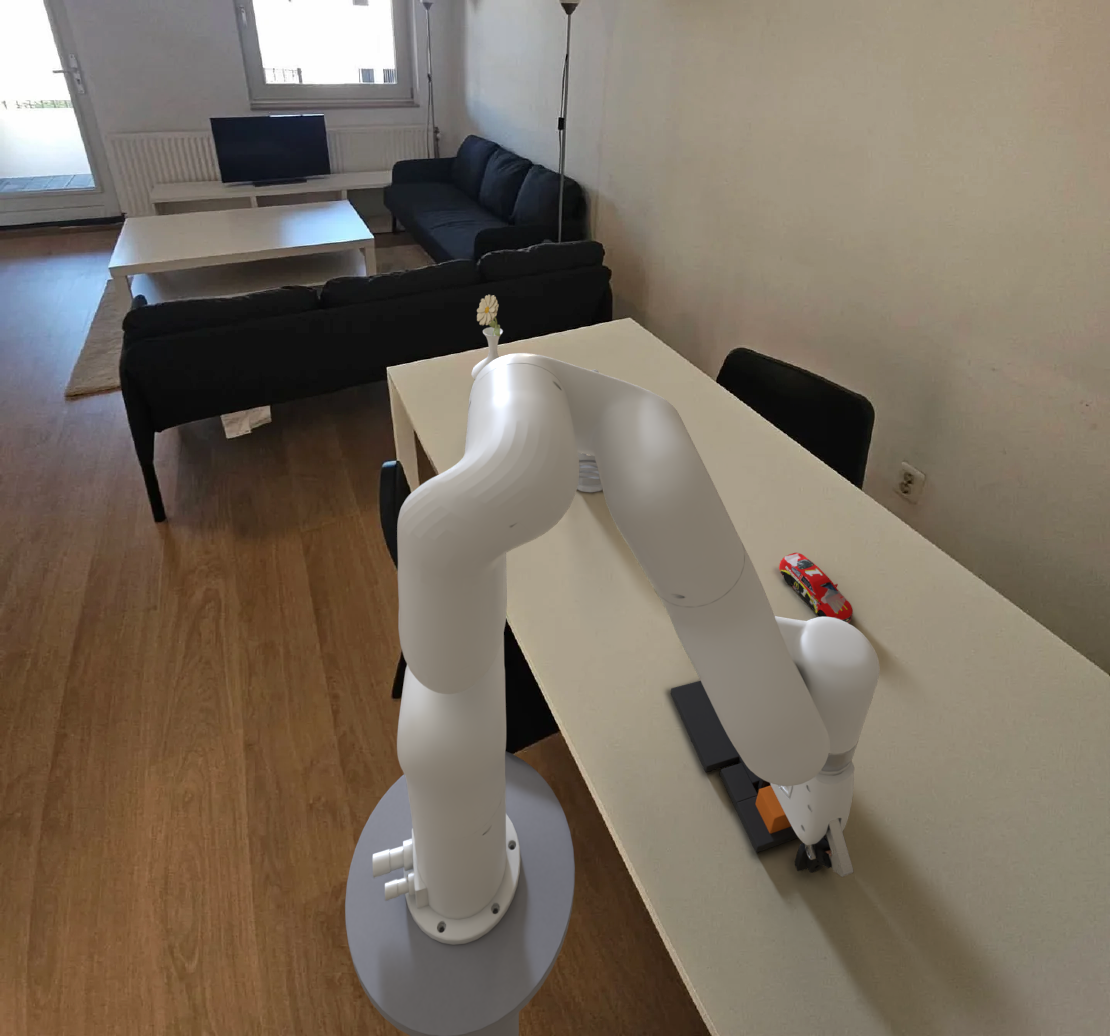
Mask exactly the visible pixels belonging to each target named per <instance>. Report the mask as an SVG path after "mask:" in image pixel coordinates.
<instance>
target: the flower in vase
mask: <svg viewBox="0 0 1110 1036" xmlns="http://www.w3.org/2000/svg"><path fill="white" fill-rule="evenodd" d="M498 310H499V303H498V299H497V297H496V296H495V294H494V295H491V294H488V295H485V296H484V298H481V299H480V302H479V307H478V308H477V309H476V312H477V315H476V321H477V322H479V325H480V326H484V325H485V326H489V327H486V328H484V329H483V330H482V334H483V335H484V336H485V337H486V340H487V344H488V355H487V357H485V358H484V359H482V360H481V361H479V362H478V363H476V364H475V365H474V366H473V368H472V370H471V377H472V378H473V380H475V379H476V377H477V376H478V374H479V373H480V372H481V370H482V369H483V368H484V367H485V366H486V365H488V364H489V363H490V362H492V361H493V360H495V359H497V358H499V357H500V356H499V351H498V345H499V339H500V337H501V335H502V334H503V332H504V330H503V329H502V328H501V325H500V324H498V319H497V314H498Z"/></svg>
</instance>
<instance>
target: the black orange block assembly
mask: <svg viewBox="0 0 1110 1036" xmlns="http://www.w3.org/2000/svg"><path fill="white" fill-rule="evenodd" d="M719 777H720V779H721V781H722V784H723V785H724V787H725V789H726V792H727V794H728V796H729V798H730V801H731V802H732V805H733V806H734V808H735V811H736V813H737V815H738V817H739V819H740V821H741V823H742V826H743V828H744V830H745V832H746V835H747V837H748V838H749V841H750V843H751V846H752V847H753V849H754V851H755V853H756V854H757V853H760V852H763V851H765V850H768V849H771V848H773V847H777V846H779V845H782V844H784V843H787V842H791V841H793V840H796V839H799V837H798V836H797V835H796V833H795V831H794V830H793V828H792V826H791V824H790V822H789V820H788V818H787V816H786V814H785V812H784V810H783V808H782V806H781V804H780V802H779V800H778V798H777V796H776V794H775V792H774V790H773V788H772V786H768V787H765V788H762V789H759V790H758V792H757V790H756V787H755V788H754V786H753V784H752V782H751V780H750V778H749V776H748V774H747V772H746V770H745V768H744V767H743V765H742V763H740V764H738V763H736V764H733V765H730V766H726V767H724V768H720V773H719Z"/></svg>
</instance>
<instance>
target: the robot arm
mask: <svg viewBox="0 0 1110 1036" xmlns="http://www.w3.org/2000/svg"><path fill="white" fill-rule="evenodd" d="M592 370H593V369H588V368H585V367H581V366H579V365H576V364H572V363H569V362H567V361H562V360H559V359H557V358H553V357H550V356H546V355H542V354H538V353H537V354H536V353H530V352H517V353H515V352H513V353H509V354H505V355H502V356H499V358H497V359H495V360H493V361H492V362H490V363H489V364H488V365H486V366H485V367H484V368H483V369H482V370H481V372H480V373H479V374H478V376H477V377H476V379H474V381H473V383H472V386H471V390H470V394H469V398H468V409H467V422H466V436H465V444H464V455H463V457H462V458H461V459H460V460H459V461H458V462H457V463H456V464H454V465H453V466H451V467H450V468H448V469H446V470H445V471H443V472H441V473H439V474H438V475H435V476H433V477H431V478H429V479H428V480H426V481H424V482H423V483H421V484H420V485H419V486H418V487H417V488H416V489H414V490H413V491H412V492H411V493H410V494H408V496H407V497H406V498H405V500H404V502H403V503H402V505H401V507H400V510H399V512H398V516H397V517H398V518H397V525H396V526H397V528H396V529H397V530H396V532H397V535H396V536H397V537H396V540H397V542H396V543H397V592H398V593H397V594H398V623H397V624H398V628H397V629H398V636H399V644H400V645H399V646H400V648H401V652H402V655H403V658H404V660H405V663H406V667H405V671H404V678H403V686H402V693H401V701H400V707H399V714H398V715H399V716H398V724H397V734H396V735H397V736H396V753H397V760H398V763H399V766H400V769H401V771H402V772H403V775H404V774H405V777H406V781H407V788H408V795H409V803H410V808H411V817H412V825H413V828H412V839H409V840H406V841H403V846H401V847H397V848H394V849H391V850H390V849H388V850H385V851H381V852H378V853H375V854H373V877H374V878H375V877H378V876H381V875H385V874H388V873H391V871H394V870H397V869H400V868H403V867H404V878H401V879H398V880H397V879H395V880H392V881H389V882H386V883H385V900H386V901H387V900H390V899H393V898H396V897H398V896H399V895H402V894H405V897H406V901H407V905H408V908H409V910H410V913H411V915H412V917H413V919H414V921H415V922H416V923H417V925H418V926H419V927H420V929H421V930H422V931H423V932H424V933H426V934H427V935H428V936H429V937H430V938H432V939H434V940H437V941H439V942H441V943H446V944H452V945H456V944H466V943H468V942H471V941H474V940H477V939H479V938H480V937H482V936H483V935H485V934H486V933H488V932H489V931H490V930H491V929H492V928H493V927H494V926H495V925H497V924H498V923H499V921H500V920H501V918H502V917H503V916H504V914H505V913H506V912H507V910H508V908H509V906H510V904H511V902H512V900H513V898H514V895H515V892H516V888H517V885H518V880H519V874H520V846H519V842H518V837H517V833H516V831H515V828H514V826H513V824H512V822H511V820H510V819H509V817H508V816H507V814H506V779H505V751H506V749H507V707H506V706H507V703H506V667H505V635H504V632H505V629H506V628H505V627H506V622H507V611H508V610H507V607H508V573H507V572H508V571H507V570H508V568H507V566H508V565H507V553H509V552H510V551H513V550H514V549H517V548H518V547H521V546H523V545H526V544H527V543H530V542H532V541H534V540H537V539H538V538H540V537H542V536H544V535H545V534H546V533H548V532H549V531H550V530H552V529H553V528H554V527H555V526H556V525H557V524H558V523H559V522H560V521H561V520H562V519H563V517H564V516H565V514H566V513H567V512H568V510H569V509H570V507H571V505H572V503H573V501H574V500H575V497H576V493H577V486H578V479H579V456H578V453H583V454H587V455H592V456H595V459H596V463H597V467H598V471H599V476H600V480H601V484H602V489H603V490H602V492H603V496H604V500H605V503H606V506H607V509H608V511H609V514H610V517H611V519H612V521H613V522H614V524H615V526H616V528H617V530H618V532H619V534H620V535H621V537H622V538H623V540H624V542H625V543H626V545H627V547H628V548H629V550H630V551H631V553H632V555H633V557H634V558H635V560H636V562H637V563H638V565H639V566H640V568H641V570H642V571H643V573H644V575H645V577H646V578H647V580H648V582H649V583H650V585H651V587H652V588H653V590H654V592H655V593H656V595H657V597H658V598H659V600H660V602H661V604H662V606H663V607H664V609H665V611H666V613H667V615H668V617H669V619H670V622H671V624H672V627H673V628H674V631H675V633H676V635H677V637H678V639H679V642H680V644H681V646H682V648H683V650H684V651H685V653H686V655H687V657H688V660H689V661H690V663H691V665H692V667H693V669H694V670H695V673H696V674H697V676H698V678H699V681H701V682H702V684H703V687H704V689H705V691H706V693H707V695H708V697H709V699H710V701H711V703H712V705H713V707H714V710H715V712H716V714H717V716H718V718H719V720H720V722H721V724H722V726H723V728H724V730H725V731H726V733H727V735H728V737H729V739H730V741H731V742H732V744H733V745H734V747H735V748H736V750H737V752H738V753H739V755H740V756H741V758H742V760H743V761H744V763H745V764H746V766H747V767H748V768H749V769H750V770H751V771H752V772H753V773H754V774H755V775H757V776H758V777H760V781H759V786H758V787H757V790H758V791H759V789H762V788H765V787H768V786H772V788H773V790H774V792H775V794H776V796H777V798H778V800H779V802H780V804H781V806H782V808H783V810H784V812H785V814H786V816H787V818H788V820H789V822H790V824H791V826H792V828H793V830H794V831H795V833H796V835H797V836H798V837H799V838H798V839H799V840H800V841H801V842H802V843H800V844H799V845H798V849H797V852H796V856H795V859H794V867H795V868H796V871H797V872H801V871H804V870H808V871H809V873H816V872H818V871H820V870H821V869H822V868H823V867H825V868H826V869H831V870H832V871H833V872H834V873H835V874H837V875H839V876H840V877H841V878H844V877H847V876H850V875H852V874H854V867H853V864H852V860H851V857H850V854H849V850H848V847H847V843H846V839H845V837H844V830H845V829H846V826H847V823H848V819H849V816H850V812H851V809H852V808H851V807H852V804H853V803H852V802H853V798H854V797H853V796H854V788H855V787H854V786H855V766H854V763H853V758H854V756H855V752H856V750H857V746H858V743H859V740H860V737H861V734H862V731H863V727H864V725H865V722H866V718H867V716H868V713H869V711H870V707H871V703H872V700H873V698H874V694H875V691H876V689H877V686H878V682H879V677H880V662H879V657H878V654H877V652H876V650H875V648H874V646H873V645H872V643H871V641H870V640H869V639H868V638H867V637H866V635H865V634H864V633H862V631H860V629H858V628H857V627H855V626H854V625H852V624H851V623H847V622H845V621H842V620H840V619H836V618H832V617H819V616H817V617H813V618H810V619H808V620H803V619H802V620H801V619H794V618H788V617H783V616H777V615H775V614H774V611H773V608H772V605H771V603H770V601H769V598H768V596H767V594H766V593H767V592H766V590H765V588H764V586H763V583H762V581H761V579H760V577H759V575H758V572H757V570H756V568H755V566H754V565H755V564H754V563H753V561H752V559H751V557H750V555H749V553H748V551H747V549H746V547H745V545H744V543H743V541H742V539H741V537H740V535H739V532H738V531H737V529H736V526H735V525H734V523H733V521H732V518H731V516H730V514H729V512H728V510H727V508H726V506H725V504H724V502H723V500H722V497H721V496H720V494H719V491H718V490H717V488H716V485H715V483H714V481H713V479H712V477H711V475H710V473H709V471H708V469H707V467H706V465H705V463H704V461H703V459H702V458H701V455H700V453H699V451H698V449H697V447H696V445H695V443H694V441H693V439H692V437H691V435H690V433H689V430H688V429H687V427H686V425H685V423H684V421H683V419H682V417H681V415H680V412H679V411H678V410H677V409H676V407H675V406H674V405H673V404H672V403H671V402H670V401H669V400H667V399H666V398H664V397H663V396H661V395H659V394H658V393H655V392H653V391H651V390H650V389H647V388H644V387H642V386H640V385H637V384H634V383H631V382H629V381H626V380H623V379H621V378H617V377H614V376H611V375H607V374H604V373H601V372H599V371H598V372H599V373H598V372H595V371H592ZM511 847H513V848H514V850H510V848H511ZM494 910H497V911H498V913H497V914H493V911H494ZM442 928H443V929H444V932H442V933H440V929H442Z"/></svg>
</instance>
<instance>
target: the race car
mask: <svg viewBox="0 0 1110 1036" xmlns="http://www.w3.org/2000/svg"><path fill="white" fill-rule="evenodd" d="M778 568H779V572H780V574H781V576H782V577H783V580H784V581H785V583H786V584H787V585H789V586H791V588H792V589H793V590H794V591H795V592H796V593H797V594H798V595H799V596H800V597H801V598H802V599H803V600H804V602H806V604H807V605H808V606H809V607H810V608H811V609H812V610H813V612H815V614H817V615H818V617H832V618H836V619H840V620H842V621H845V622H847V623H849V624H851V622H852V618H853V613H854V610H853V609H854V608H853V606H852V604H851V602H850V601H848V599H847V598H846V597H845V596H844V595H843V593H841V592H840V590H839V589H838V588H837V587H838V583H835V584H834V582H833V581H832V580H831V579H830V577H829V576H828V575H827V574H826V573H825V572H824V571H823V570H822V569H821V568H820V567H818V565H817V564H815V563H814V562H813V561H812V560H811V559H809V558H808V557H806V556H805V555H803V554H802V553H799V552H792V553H789V554H787V555H785V556H784V557H783V558H782V559H781V560H780V561H779V565H778Z"/></svg>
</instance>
